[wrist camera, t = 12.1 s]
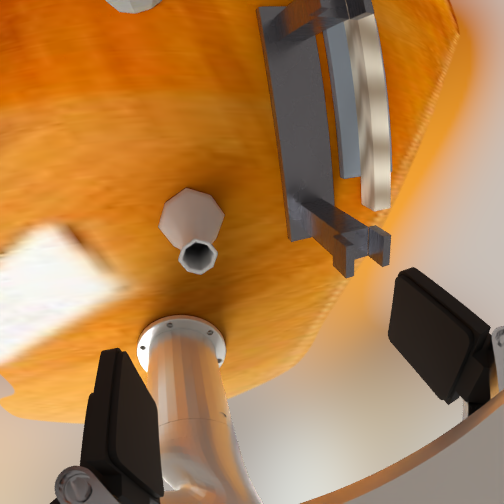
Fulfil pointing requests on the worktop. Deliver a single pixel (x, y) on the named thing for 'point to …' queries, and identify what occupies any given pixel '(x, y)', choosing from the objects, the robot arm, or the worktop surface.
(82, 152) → the worktop surface
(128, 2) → the disposable coffee cup
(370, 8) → the grey holder stand
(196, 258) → the flask
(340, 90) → the mat
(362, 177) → the rail
